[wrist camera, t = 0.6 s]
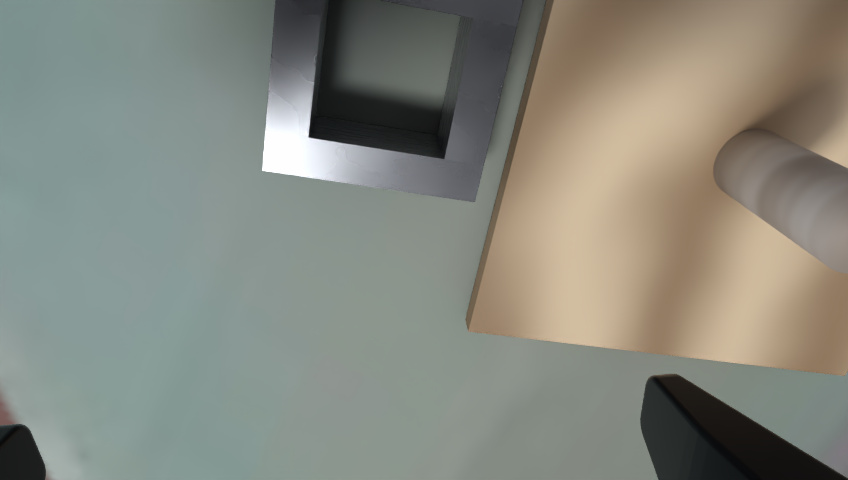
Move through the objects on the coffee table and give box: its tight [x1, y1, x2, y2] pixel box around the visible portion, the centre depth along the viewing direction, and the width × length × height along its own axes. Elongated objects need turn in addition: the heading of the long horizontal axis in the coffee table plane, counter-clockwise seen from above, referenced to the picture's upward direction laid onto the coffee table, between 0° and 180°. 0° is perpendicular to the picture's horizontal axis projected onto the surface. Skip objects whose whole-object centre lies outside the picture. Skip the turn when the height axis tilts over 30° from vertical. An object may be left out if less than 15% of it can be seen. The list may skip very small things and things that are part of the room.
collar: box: [263, 0, 523, 202], centre depth 18 cm, size 6×6×2 cm
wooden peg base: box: [466, 0, 848, 376], centre depth 18 cm, size 16×16×6 cm
